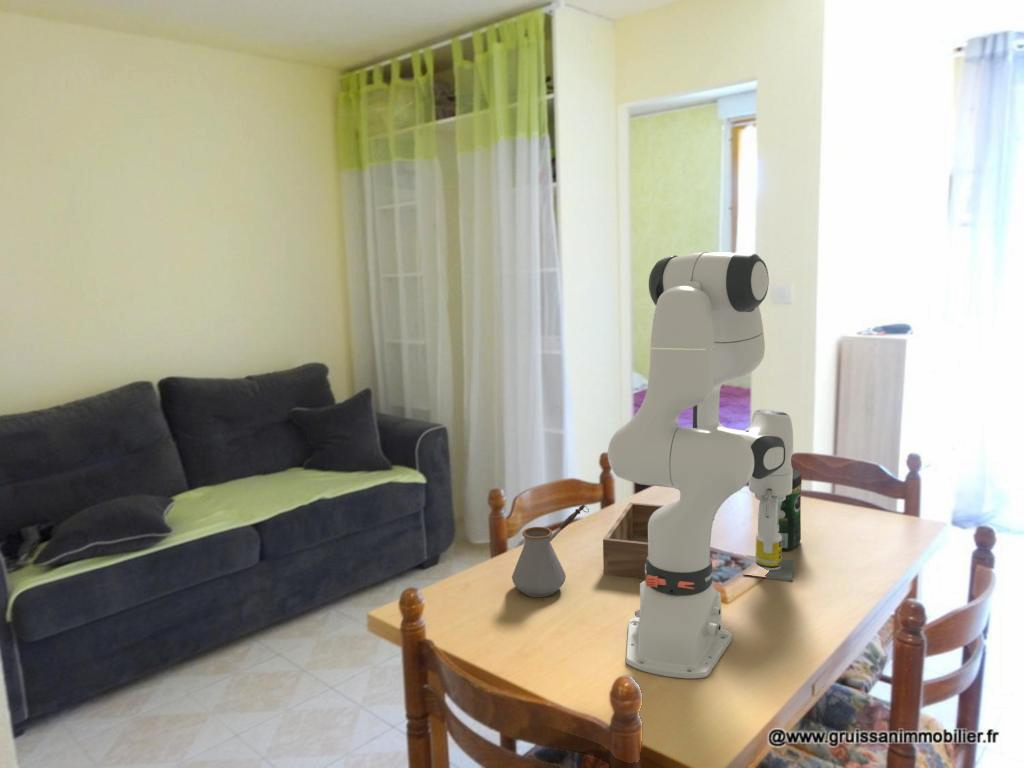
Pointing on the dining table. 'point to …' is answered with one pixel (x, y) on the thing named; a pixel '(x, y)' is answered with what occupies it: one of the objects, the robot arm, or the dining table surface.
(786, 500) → the coffee jar
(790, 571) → the coaster
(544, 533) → the coffee pot
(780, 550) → the supplement bottle
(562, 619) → the dining table surface
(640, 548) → the crate
